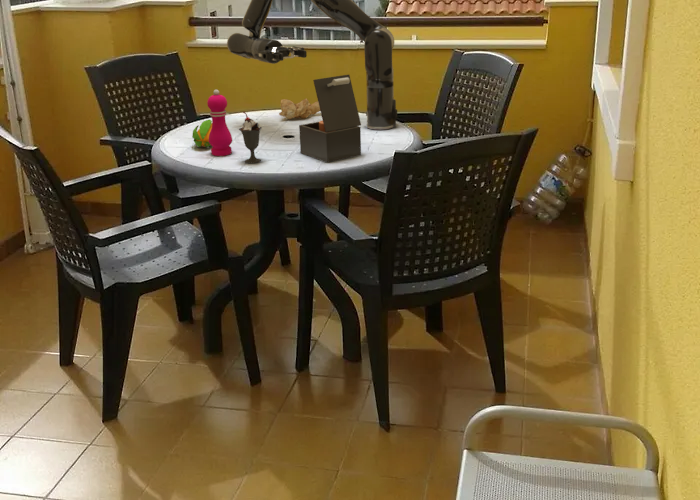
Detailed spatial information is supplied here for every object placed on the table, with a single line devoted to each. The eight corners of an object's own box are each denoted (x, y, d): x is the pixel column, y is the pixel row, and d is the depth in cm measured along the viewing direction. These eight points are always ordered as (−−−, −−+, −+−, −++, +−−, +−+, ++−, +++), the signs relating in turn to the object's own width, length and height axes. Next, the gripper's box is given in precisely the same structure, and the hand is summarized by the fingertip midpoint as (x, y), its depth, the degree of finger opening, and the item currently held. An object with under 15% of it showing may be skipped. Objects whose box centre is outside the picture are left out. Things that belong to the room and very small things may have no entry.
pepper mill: (228, 156, 250) (223, 92, 243) (206, 156, 252) (200, 91, 244) (236, 150, 257) (231, 87, 249) (214, 150, 258) (209, 87, 251)
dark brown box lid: (313, 80, 237) (323, 75, 232) (347, 74, 244) (358, 70, 239) (325, 132, 238) (335, 128, 233) (359, 125, 245) (370, 122, 240)
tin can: (333, 147, 254) (332, 119, 251) (339, 151, 250) (338, 122, 246) (317, 149, 253) (316, 120, 249) (322, 153, 248) (321, 124, 245)
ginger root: (267, 117, 295) (269, 94, 294) (286, 118, 310) (288, 97, 308) (306, 121, 290) (308, 98, 288) (324, 122, 304) (326, 100, 303)
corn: (189, 127, 255) (199, 113, 273) (189, 151, 257) (199, 135, 276) (212, 128, 255) (221, 114, 273) (213, 152, 258) (221, 136, 276)
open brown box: (300, 153, 252) (299, 125, 249) (333, 146, 259) (332, 118, 256) (327, 162, 241) (326, 133, 238) (361, 155, 248) (360, 126, 245)
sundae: (242, 158, 248) (238, 110, 242) (264, 157, 248) (260, 109, 243) (241, 164, 242) (237, 114, 236) (263, 163, 242) (260, 113, 236)
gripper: (286, 59, 271) (313, 65, 259) (249, 64, 263) (275, 70, 251) (285, 36, 268) (312, 41, 256) (247, 40, 260) (273, 45, 248)
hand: (293, 55), depth 253 cm, fingers open, 8 cm apart
